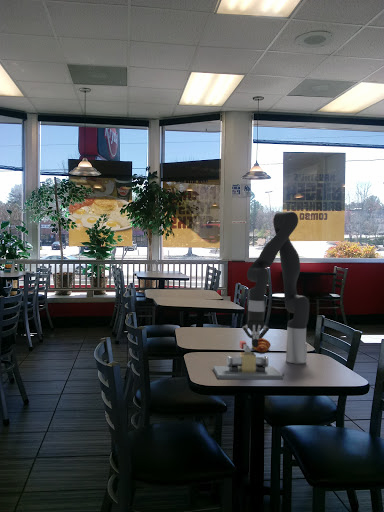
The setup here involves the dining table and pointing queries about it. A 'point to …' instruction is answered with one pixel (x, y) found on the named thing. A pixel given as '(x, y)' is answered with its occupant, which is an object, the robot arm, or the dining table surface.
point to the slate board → (225, 373)
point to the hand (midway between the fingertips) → (254, 346)
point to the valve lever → (245, 347)
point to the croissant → (262, 345)
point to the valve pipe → (247, 363)
